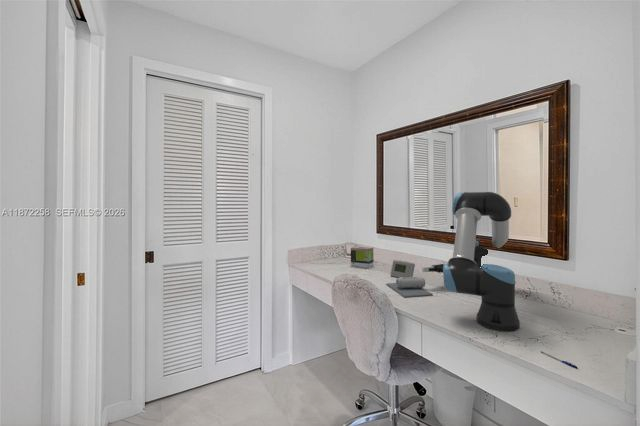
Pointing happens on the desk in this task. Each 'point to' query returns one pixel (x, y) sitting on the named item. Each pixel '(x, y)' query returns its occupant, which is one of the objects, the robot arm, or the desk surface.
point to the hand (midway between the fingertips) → (422, 269)
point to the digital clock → (402, 269)
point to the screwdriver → (560, 360)
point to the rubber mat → (409, 291)
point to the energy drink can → (410, 282)
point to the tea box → (362, 257)
